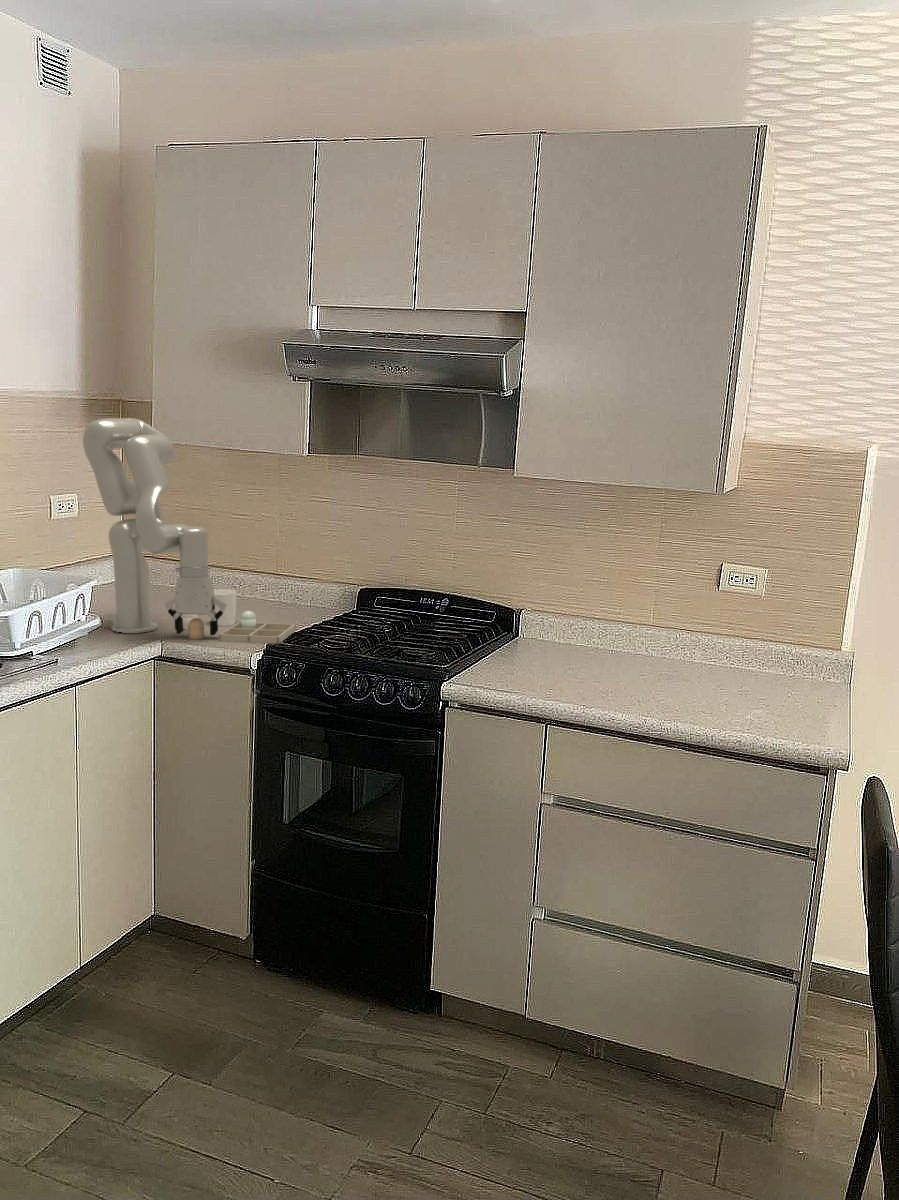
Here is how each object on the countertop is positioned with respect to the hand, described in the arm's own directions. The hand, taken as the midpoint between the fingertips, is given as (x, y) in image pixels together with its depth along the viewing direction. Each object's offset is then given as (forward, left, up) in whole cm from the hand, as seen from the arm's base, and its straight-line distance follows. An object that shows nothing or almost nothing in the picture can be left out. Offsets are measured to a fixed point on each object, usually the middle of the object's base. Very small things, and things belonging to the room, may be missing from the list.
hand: (196, 633), depth 291 cm
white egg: (-6, +11, -2) cm, 13 cm away
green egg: (+12, +9, -1) cm, 15 cm away
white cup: (+1, +19, -2) cm, 19 cm away
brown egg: (0, 0, -2) cm, 2 cm away
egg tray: (+16, +5, -2) cm, 17 cm away
